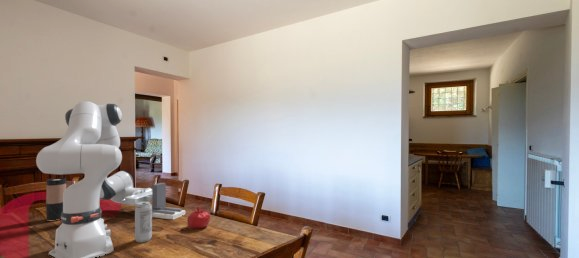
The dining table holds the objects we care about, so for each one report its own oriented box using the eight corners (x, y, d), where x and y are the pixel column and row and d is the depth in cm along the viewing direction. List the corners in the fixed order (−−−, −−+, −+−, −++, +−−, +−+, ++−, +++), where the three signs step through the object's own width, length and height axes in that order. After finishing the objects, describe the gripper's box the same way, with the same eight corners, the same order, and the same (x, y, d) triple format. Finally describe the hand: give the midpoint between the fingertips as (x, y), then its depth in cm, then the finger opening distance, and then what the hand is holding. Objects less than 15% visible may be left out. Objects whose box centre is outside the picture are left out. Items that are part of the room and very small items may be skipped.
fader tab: (167, 208, 145) (167, 183, 145) (158, 212, 139) (158, 185, 139) (159, 208, 147) (159, 182, 147) (150, 211, 141) (150, 184, 141)
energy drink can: (147, 236, 114) (148, 200, 114) (154, 239, 110) (154, 202, 110) (132, 240, 109) (132, 203, 109) (138, 244, 105) (138, 205, 105)
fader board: (185, 214, 143) (185, 208, 143) (173, 219, 135) (173, 213, 135) (153, 210, 150) (153, 204, 150) (140, 215, 141) (140, 209, 141)
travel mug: (57, 221, 131) (57, 180, 131) (41, 221, 131) (41, 180, 131) (70, 216, 139) (70, 177, 139) (55, 216, 139) (55, 177, 139)
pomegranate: (203, 231, 119) (203, 210, 119) (182, 229, 121) (182, 209, 121) (213, 223, 129) (214, 204, 129) (194, 222, 131) (194, 202, 131)
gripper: (119, 194, 138) (140, 196, 134) (150, 186, 157) (170, 188, 153) (118, 207, 138) (140, 209, 133) (150, 197, 157) (170, 199, 153)
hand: (156, 198), depth 143 cm, fingers closed, pressing on fader tab
